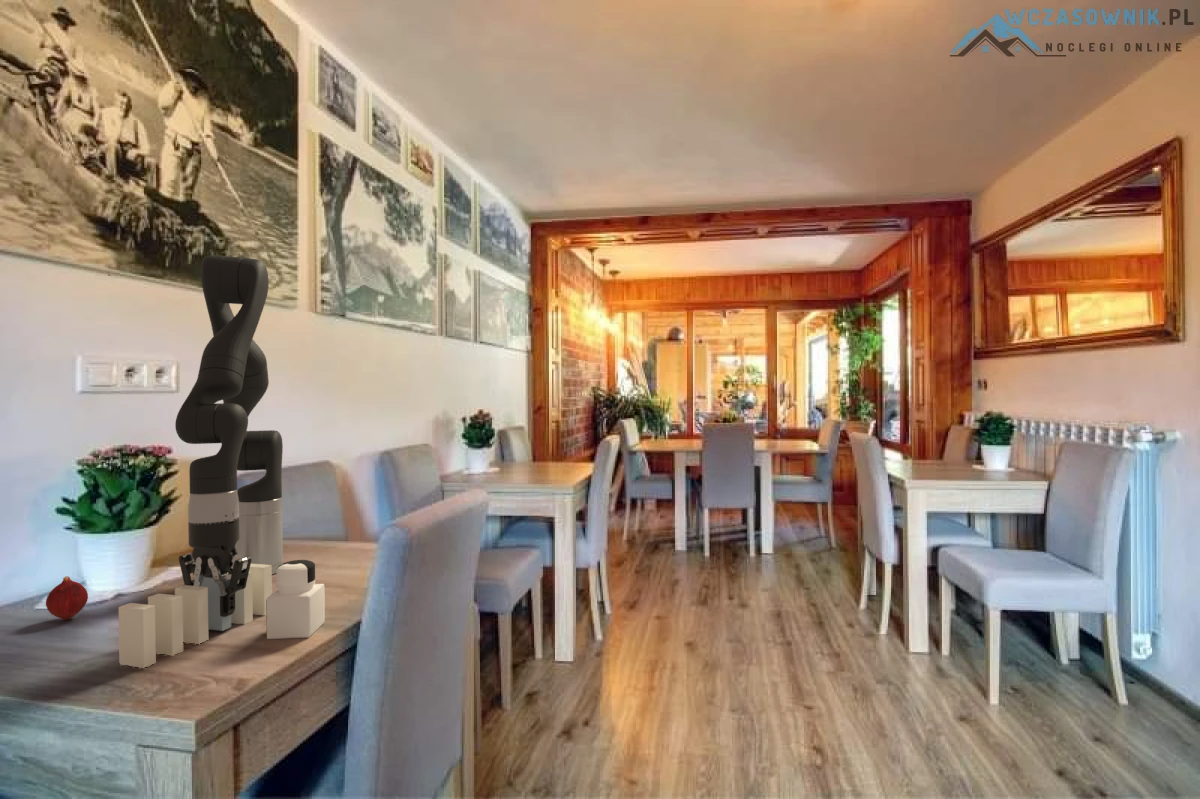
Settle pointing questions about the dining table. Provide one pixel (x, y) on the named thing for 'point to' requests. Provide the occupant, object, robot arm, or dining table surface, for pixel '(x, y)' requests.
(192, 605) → the domino
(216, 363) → the robot arm
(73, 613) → the onion
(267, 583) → the domino
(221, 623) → the domino
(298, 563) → the medicine bottle
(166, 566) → the dining table surface
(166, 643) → the domino
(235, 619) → the domino
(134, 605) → the domino
